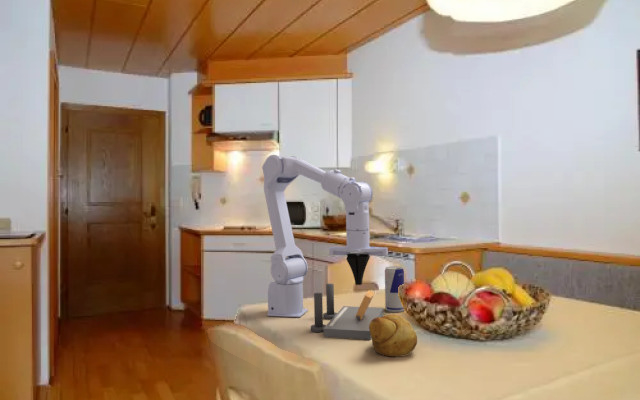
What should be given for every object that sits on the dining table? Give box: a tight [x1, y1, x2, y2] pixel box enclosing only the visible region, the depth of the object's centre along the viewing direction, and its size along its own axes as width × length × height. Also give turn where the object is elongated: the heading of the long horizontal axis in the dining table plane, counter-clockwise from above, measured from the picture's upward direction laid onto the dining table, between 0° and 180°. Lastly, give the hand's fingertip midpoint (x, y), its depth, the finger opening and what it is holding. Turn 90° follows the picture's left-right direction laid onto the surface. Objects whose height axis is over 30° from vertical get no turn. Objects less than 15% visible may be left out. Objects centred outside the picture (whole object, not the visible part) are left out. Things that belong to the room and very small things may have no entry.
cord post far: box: [323, 283, 338, 321], centre depth 128 cm, size 4×4×9 cm
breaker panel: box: [323, 305, 384, 341], centre depth 120 cm, size 11×22×2 cm, turn 165°
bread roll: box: [369, 313, 418, 357], centre depth 101 cm, size 13×10×8 cm
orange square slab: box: [355, 290, 375, 320], centre depth 119 cm, size 2×6×6 cm, turn 166°
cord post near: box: [310, 292, 327, 334], centre depth 116 cm, size 4×4×9 cm
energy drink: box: [384, 265, 405, 313], centre depth 134 cm, size 5×5×12 cm
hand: (358, 284), depth 120 cm, fingers closed
